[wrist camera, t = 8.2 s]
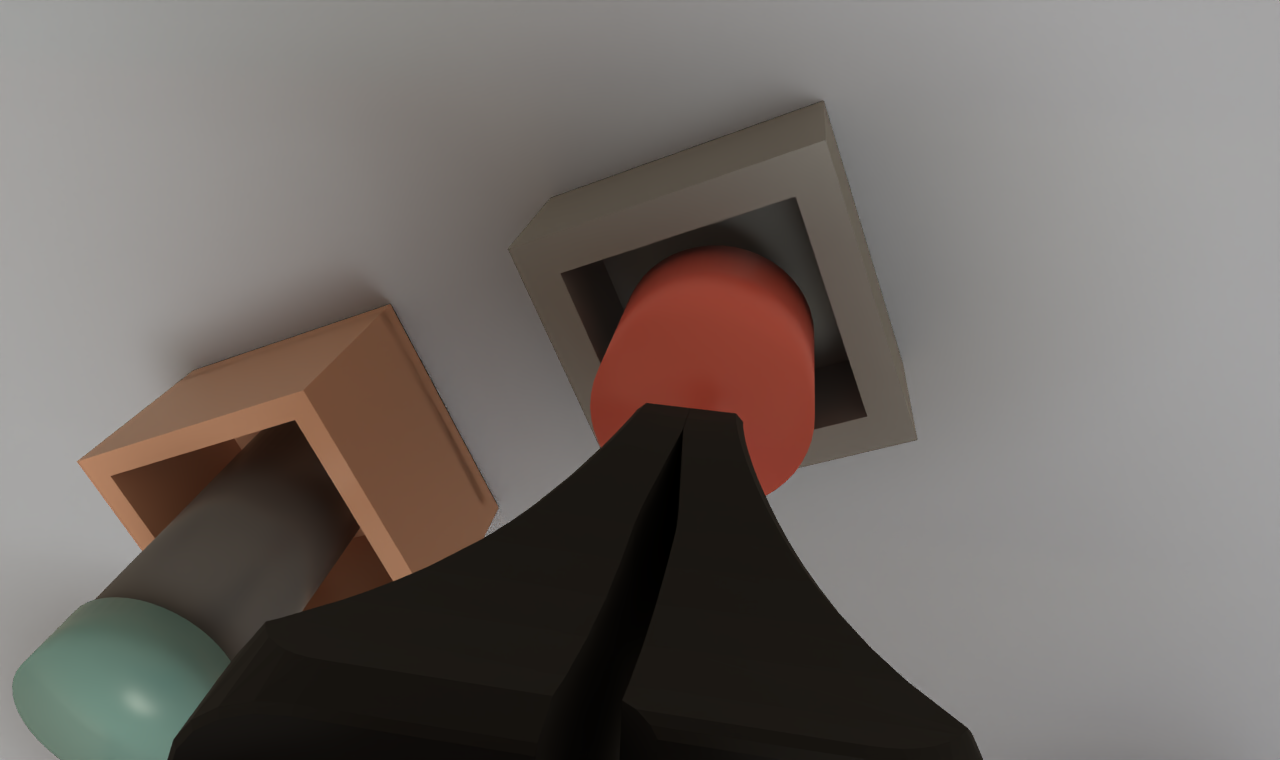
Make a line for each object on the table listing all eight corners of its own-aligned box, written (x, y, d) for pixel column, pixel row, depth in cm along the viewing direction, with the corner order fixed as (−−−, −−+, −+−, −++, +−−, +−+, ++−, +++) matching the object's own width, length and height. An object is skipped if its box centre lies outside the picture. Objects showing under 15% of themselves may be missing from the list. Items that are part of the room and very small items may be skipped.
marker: (326, 522, 23) (112, 808, 16) (243, 420, 22) (-27, 681, 15) (426, 479, 22) (241, 769, 15) (343, 370, 21) (100, 628, 14)
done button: (838, 392, 17) (842, 482, 14) (663, 437, 18) (638, 529, 15) (779, 219, 15) (773, 284, 13) (594, 278, 16) (555, 349, 14)
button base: (903, 364, 19) (917, 439, 16) (651, 430, 21) (628, 508, 18) (823, 100, 17) (825, 139, 14) (550, 198, 19) (508, 248, 16)
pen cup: (498, 507, 23) (441, 621, 19) (311, 554, 24) (227, 666, 21) (390, 304, 20) (303, 389, 17) (192, 370, 22) (77, 461, 19)
